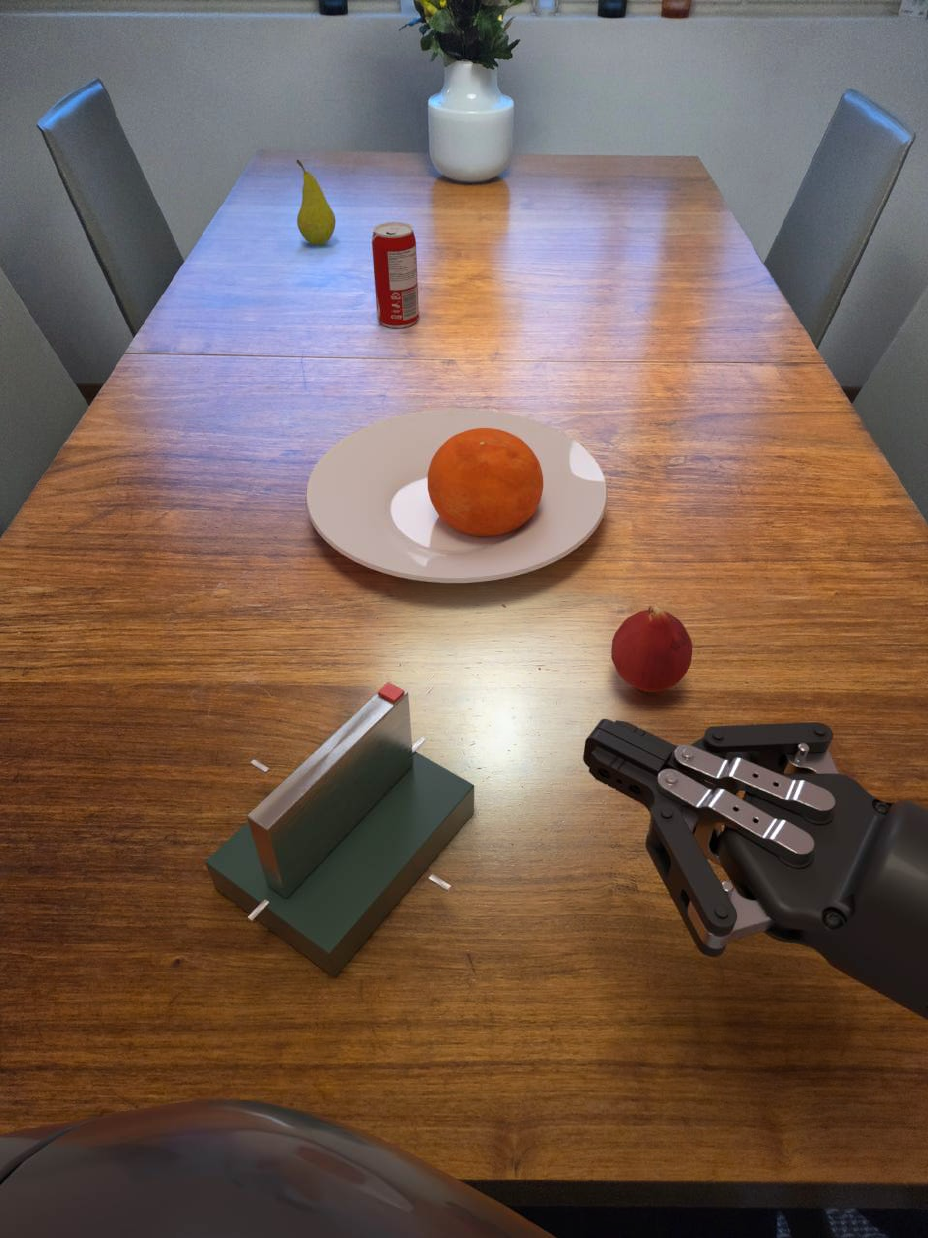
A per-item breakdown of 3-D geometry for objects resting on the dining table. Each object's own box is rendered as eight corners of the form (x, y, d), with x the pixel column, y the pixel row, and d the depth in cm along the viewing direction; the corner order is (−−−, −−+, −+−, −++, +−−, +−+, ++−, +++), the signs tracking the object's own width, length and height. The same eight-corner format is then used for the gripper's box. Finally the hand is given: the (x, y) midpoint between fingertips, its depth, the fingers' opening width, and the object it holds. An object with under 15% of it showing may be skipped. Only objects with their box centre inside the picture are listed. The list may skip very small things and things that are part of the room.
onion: (668, 655, 69) (685, 577, 64) (694, 708, 65) (715, 630, 60) (597, 664, 69) (608, 586, 63) (619, 719, 64) (633, 640, 59)
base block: (363, 1027, 48) (358, 1001, 46) (167, 875, 55) (155, 847, 53) (522, 823, 58) (524, 794, 56) (338, 716, 65) (334, 687, 63)
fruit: (340, 248, 136) (332, 164, 128) (303, 252, 135) (292, 167, 126) (334, 235, 140) (325, 153, 132) (297, 239, 139) (286, 156, 131)
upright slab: (286, 899, 50) (266, 827, 46) (266, 885, 51) (244, 812, 46) (413, 764, 58) (408, 689, 53) (395, 753, 58) (388, 678, 53)
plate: (247, 530, 82) (230, 451, 76) (434, 410, 98) (431, 337, 92) (489, 658, 69) (490, 574, 63) (657, 496, 86) (670, 418, 80)
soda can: (388, 309, 119) (382, 216, 111) (425, 315, 117) (422, 221, 109) (370, 325, 115) (363, 230, 107) (408, 331, 113) (404, 236, 105)
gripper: (1052, 767, 36) (664, 606, 43) (976, 1041, 28) (518, 784, 35) (981, 868, 41) (644, 707, 48) (899, 1123, 33) (513, 883, 40)
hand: (591, 740), depth 42 cm, fingers closed
